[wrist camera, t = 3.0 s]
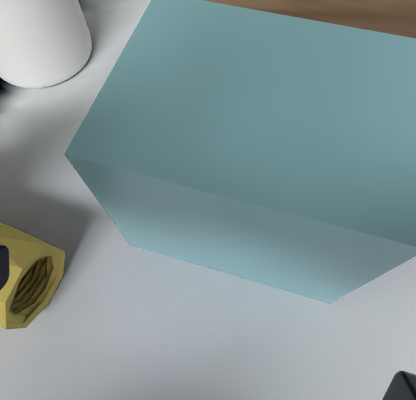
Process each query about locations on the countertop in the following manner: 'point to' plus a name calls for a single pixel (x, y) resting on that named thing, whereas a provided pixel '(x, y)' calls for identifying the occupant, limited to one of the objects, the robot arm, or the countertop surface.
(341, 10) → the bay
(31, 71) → the pill bottle
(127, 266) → the countertop surface
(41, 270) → the ball valve
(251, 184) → the crate
